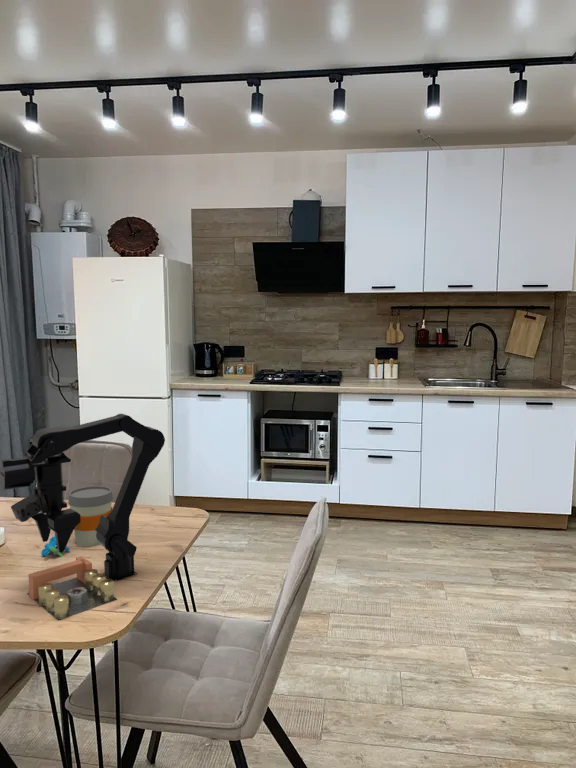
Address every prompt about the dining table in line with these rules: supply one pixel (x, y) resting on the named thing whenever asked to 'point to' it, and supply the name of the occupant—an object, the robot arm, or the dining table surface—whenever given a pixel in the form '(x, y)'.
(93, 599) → the plate
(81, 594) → the nut
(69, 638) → the dining table surface
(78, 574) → the copper l-bar
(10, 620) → the dining table surface
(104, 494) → the reusable coffee cup
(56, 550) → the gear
